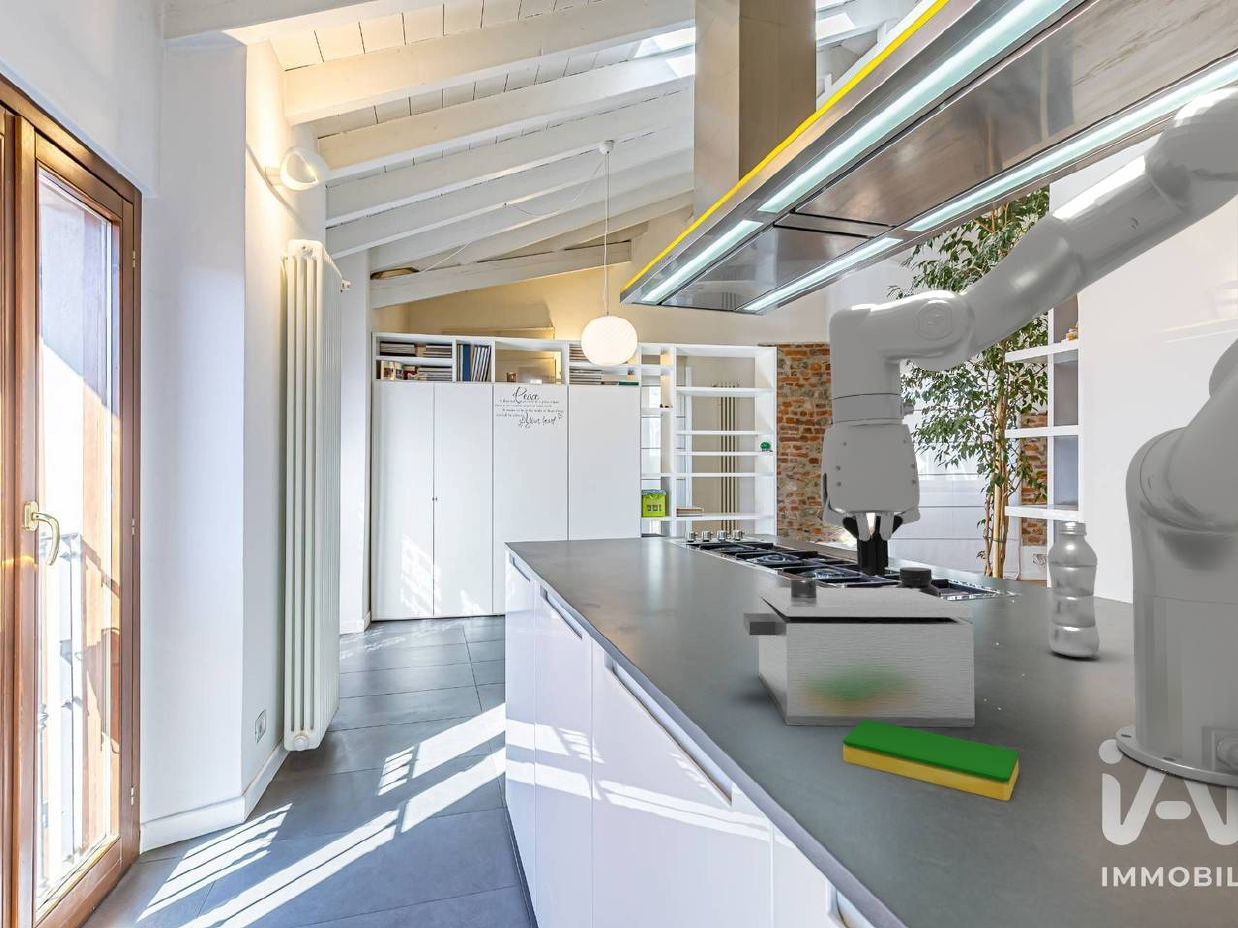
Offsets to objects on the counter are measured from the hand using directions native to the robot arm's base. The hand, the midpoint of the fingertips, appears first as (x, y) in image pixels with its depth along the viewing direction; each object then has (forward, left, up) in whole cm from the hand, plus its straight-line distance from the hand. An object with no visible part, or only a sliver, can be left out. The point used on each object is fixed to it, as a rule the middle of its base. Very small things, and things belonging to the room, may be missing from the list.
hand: (873, 574), depth 77 cm
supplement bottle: (+34, -18, -16) cm, 42 cm away
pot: (+5, +1, -16) cm, 17 cm away
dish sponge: (-14, 0, -17) cm, 21 cm away
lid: (+5, +1, -4) cm, 7 cm away
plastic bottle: (+26, -38, -16) cm, 49 cm away
